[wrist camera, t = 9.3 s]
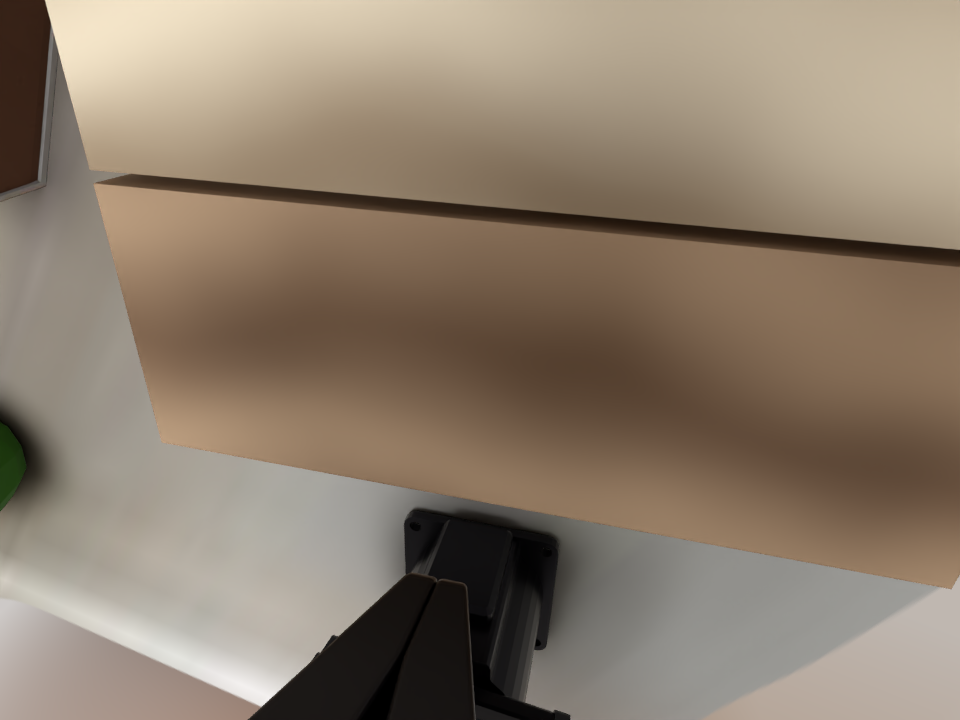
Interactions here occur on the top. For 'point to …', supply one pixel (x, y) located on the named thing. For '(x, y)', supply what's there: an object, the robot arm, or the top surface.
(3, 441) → the bell pepper
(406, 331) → the floor platform
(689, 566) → the top surface
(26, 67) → the food container
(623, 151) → the pale plank
